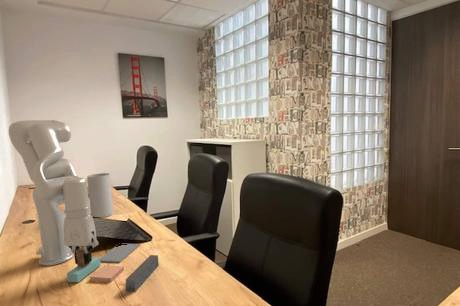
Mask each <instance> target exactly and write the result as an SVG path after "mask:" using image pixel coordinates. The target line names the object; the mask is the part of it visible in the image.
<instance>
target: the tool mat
mask: <svg viewBox="0 0 460 306" xmlns="http://www.w3.org/2000/svg"><path fill="white" fill-rule="evenodd" d="M126 244H127V245H121V246H118V247H116V246H114V247H113V248H112V249H110V250H109V251H108V252H106V253H104V254H103V255H102V256H101V257H99V258H100V263H110V262H115V264H120V263H122V262H123V261H124V260H125V259H126V258H128V257H129V256H130V255H131V254H133V252H135V251H136V250H137V249H138V248H139V247H140V246H141V243H126ZM135 249H136V250H135ZM129 254H130V255H129ZM128 255H129V256H128ZM123 259H124V260H123ZM122 260H123V261H122Z"/></svg>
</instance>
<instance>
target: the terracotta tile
mask: <svg viewBox="0 0 460 306" xmlns="http://www.w3.org/2000/svg"><path fill="white" fill-rule="evenodd" d="M124 271H125V266H124V265H121V266H120V265H106V264H105V265H103V266H102V267H101V268H99V269H97V271H95V272H94V273H93V274H91V275H90V276H89V279H90V282H97V283H112V282H113V281H115V280H116V279H117V278H118V277H119V276H120V275H121V274H122V273H123V272H124Z"/></svg>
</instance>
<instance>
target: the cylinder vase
mask: <svg viewBox="0 0 460 306" xmlns="http://www.w3.org/2000/svg"><path fill="white" fill-rule="evenodd" d="M86 179H87V180H86V181H87V188H88V198H89V207H90V215H92V218H93V217H99V218H98V219H102V218H107V217H109V216H112V215H113V214H114V205H113V204H114V203H113V196H112V195H113V194H112V185H111V184H112V183H111V181H112V180H111V174H110V173H108V172H104V173H92V174H89V175H87V176H86Z"/></svg>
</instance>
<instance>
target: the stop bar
mask: <svg viewBox="0 0 460 306" xmlns="http://www.w3.org/2000/svg"><path fill="white" fill-rule="evenodd" d="M159 264H160V263H159V255H156V254H155V255H154V254H150V255H149V256H148V257H147V258H146V259H145V260H143V262H142V263H141V264H140V265H139V266H138V267H137V268H136V269H134V271H132V273H131V274H129V276H128V277H126V279H125V289H126V292H128V293H129V292H130V293H136V292H137V291H138V289H139V288H141V286H143V284H144V283H145V281H147V280H148V278H150V276H151V275H152V274H153V273H154V271H155V270H156V269H158V268H159V266H160V265H159Z"/></svg>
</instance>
